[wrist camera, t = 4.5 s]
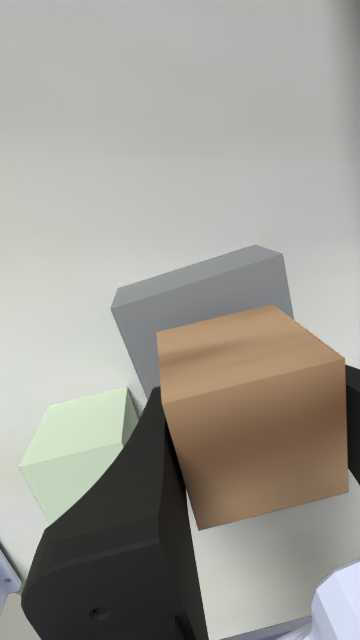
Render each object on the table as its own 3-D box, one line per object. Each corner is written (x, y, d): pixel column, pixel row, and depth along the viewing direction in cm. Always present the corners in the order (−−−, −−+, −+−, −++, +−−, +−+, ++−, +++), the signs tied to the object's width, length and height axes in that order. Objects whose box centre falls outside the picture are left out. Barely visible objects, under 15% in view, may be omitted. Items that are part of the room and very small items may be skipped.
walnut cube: (283, 401, 15) (348, 492, 10) (181, 426, 14) (198, 530, 10) (272, 304, 13) (344, 358, 8) (156, 332, 13) (162, 403, 8)
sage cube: (146, 445, 21) (147, 513, 16) (75, 463, 21) (55, 536, 16) (127, 385, 19) (121, 441, 15) (49, 404, 19) (18, 467, 14)
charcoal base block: (277, 363, 20) (307, 398, 16) (161, 399, 20) (165, 443, 16) (253, 244, 17) (282, 253, 14) (118, 287, 17) (110, 308, 14)
